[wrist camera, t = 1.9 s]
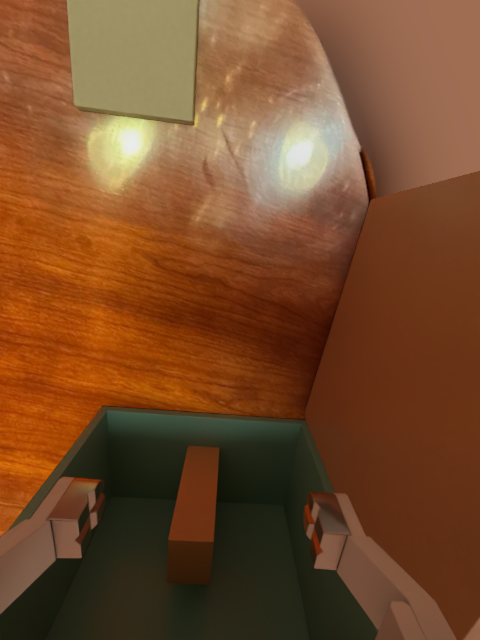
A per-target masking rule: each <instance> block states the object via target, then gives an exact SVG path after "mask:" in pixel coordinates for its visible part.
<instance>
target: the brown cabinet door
mask: <svg viewBox="0 0 480 640" xmlns="http://www.w3.org/2000/svg"><path fill="white" fill-rule="evenodd" d="M304 417H305V419H306V422H307V424H308V427H309V429H310V432H311V434H312V437H313V439H314V442H315V444H316V447H317V449H318V452H319V454H320V457H321V459H322V462H323V464H324V467H325V469H326V472H327V474H328V477H329V479H330V482H331V484H332V487H333V489H334V492H335V493H345V494H347V496H348V497H349V499H350V502H351V504H352V506H353V508H354V511H355V513H356V515H357V517H358V519H359V522H360V524H361V526H362V528H363V531H364V533H365V535H366V536H368V537H371V538H372V539H373V540H374V541H375V542H376V543H377V544H378V545H379V546H380V547H381V548H382V549H383V550H384V551H385V552H386V553H387V554H388V555H389V556H390V557H391V558H392V559H393V560H394V561H395V562H396V563H397V564H398V565H399V566H400V567H401V568H402V569H403V570H404V571H405V572H406V573H407V574H408V575H409V576H410V577H411V578H412V579H414V580H415V581H416V582H417V583H418V584H419V585H420V586H421V587H422V588H423V589H424V590H425V591H426V592H427V593H428V594H429V595H430V596H431V597H432V598H433V599H434V600H435V601H436V603H437V605H438V607H439V608H440V610H441V612H442V614H443V616H444V617H445V619H446V621H447V623H448V625H449V626H450V628H451V630H452V632H453V634H454V635H455V637H456V639H457V640H480V171H478V172H474V173H470V174H467V175H463V176H459V177H455V178H451V179H447V180H444V181H440V182H437V183H432V184H429V185H425V186H421V187H418V188H414V189H410V190H406V191H403V192H398V193H395V194H391V195H387V196H383V197H380V198H376V199H372V200H371V201H370V205H369V208H368V211H367V214H366V217H365V221H364V224H363V227H362V230H361V233H360V237H359V240H358V243H357V246H356V249H355V253H354V256H353V259H352V262H351V265H350V268H349V272H348V275H347V278H346V281H345V284H344V288H343V291H342V294H341V297H340V300H339V304H338V307H337V310H336V313H335V316H334V320H333V323H332V326H331V329H330V332H329V336H328V339H327V342H326V345H325V348H324V352H323V355H322V358H321V361H320V364H319V368H318V371H317V374H316V377H315V380H314V383H313V387H312V390H311V393H310V396H309V399H308V403H307V406H306V409H305V412H304Z"/></svg>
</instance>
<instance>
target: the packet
mask: <svg viewBox="0 0 480 640" xmlns="http://www.w3.org/2000/svg"><path fill="white" fill-rule="evenodd" d="M219 449H220V448H218V447H202V446H188V448H187V453H186V458H185V462H184V467H183V472H182V477H181V481H180V486H179V491H178V495H177V500H176V505H175V510H174V514H173V519H172V524H171V528H170V533H169V538H168V558H167V583H174V584H204V585H209V583H210V574H211V564H212V555H213V545H214V531H215V515H216V498H217V482H218V465H219Z"/></svg>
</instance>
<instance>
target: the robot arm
mask: <svg viewBox="0 0 480 640" xmlns="http://www.w3.org/2000/svg"><path fill="white" fill-rule="evenodd" d="M103 488H104V480H98V479H87V478H74V477H62V478H61V479H59V480H58V481H57V483H56V484H55V485H54V487H53V488H52V490H51V491H50V492H49V494H48V495H47V496H46V498H45V499H44V501H43V502H42V503H41V505H40V506H39V507H38V509H37V510H36V512H35V513H34V514H33V516H32V517H31V518H30V519H25V520H24V521H22V522H21V523H19V524H18V525H16V526H15V527H13V528H12V529H10V530H9V531H8V532H6V533H5V534H3V535H2V536H0V614H1V613H2V612H3V611H4V610H5V609H6V608H7V607H8V606H9V605H10V604H11V603H12V602H13V601H14V600H15V599H16V598H17V597H19V596H20V595H21V594H22V593H23V592H24V591H25V590H26V589H27V588H28V587H29V586H30V585H31V584H32V583H33V582H34V581H35V580H36V579H37V578H38V577H39V576H40V575H41V574H42V573H43V572H44V571H45V570H46V569H47V568H48V567H49V566H50V565H51V564H52V563H53V562H54V561H55V560H56V558H82V557H83V554H84V552H85V550H86V548H87V546H88V544H89V542H90V540H91V538H92V536H91V530H92V529H93V528H94V527H95V526H97V525H98V523H99V521H100V518H101V516H102V513H103V510H104V506H105V495H104V494H103V493H102V490H103ZM307 502H308V504H307V505H306V506H304V511H303V523H304V529H305V534H306V536H307V537H308V538H309V539H310V540H311V541H310V546H309V550H310V554H311V558H312V562H313V566H314V569H327V570H337V573H338V574H339V576H340V577H341V579H342V580H343V581H344V583H345V584H346V586H347V587H348V588H349V590H350V591H351V593H352V594H353V596H354V597H355V598H356V600H357V601H358V603H359V604H360V605H361V607H362V608H363V610H364V611H365V612H366V614H367V615H368V617H369V618H370V619H371V621H372V622H373V624H374V625H375V627H376V628H377V629H378V634H377V636H376V638H375V640H457V639H456V637H455V635H454V634H453V632H452V630H451V628H450V626H449V625H448V623H447V621H446V619H445V617H444V616H443V614H442V612H441V610H440V608H439V607H438V605H437V603H436V601H435V600H434V599H433V598H432V597H431V596H430V595H429V594H428V593H427V592H426V591H425V590H424V589H423V588H422V587H421V586H420V585H419V584H418V583H417V582H416V581H415V580H414V579H412V578H411V577H410V576H409V575H408V574H407V573H406V572H405V571H404V570H403V569H402V568H401V567H400V566H399V565H398V564H397V563H396V562H395V561H394V560H393V559H392V558H391V557H390V556H389V555H388V554H387V553H386V552H385V551H384V550H383V549H382V548H381V547H380V546H379V545H378V544H377V543H376V542H375V541H374V540H373V539H372V538H371V537H368V536H366V535H365V533H364V531H363V528H362V526H361V524H360V522H359V519H358V517H357V515H356V513H355V511H354V508H353V506H352V504H351V502H350V499H349V497H348V496H347V494H345V493H332V492H310V491H309V492H308V494H307Z"/></svg>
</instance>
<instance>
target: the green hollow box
mask: <svg viewBox="0 0 480 640" xmlns="http://www.w3.org/2000/svg"><path fill="white" fill-rule="evenodd" d="M188 446H202V447H218V448H220V449H219V465H218V482H217V498H216V515H215V531H214V545H213V555H212V564H211V574H210V583H209V585H204V584H174V583H167V558H168V538H169V533H170V528H171V524H172V519H173V514H174V510H175V505H176V500H177V495H178V491H179V486H180V481H181V477H182V472H183V467H184V462H185V458H186V453H187V448H188ZM62 477H74V478H87V479H98V480H104V488H103V490H102V493H103V494H104V495H105V506H104V510H103V513H102V516H101V518H100V521H99V523H98V525H97V526H95V527H94V528H93V529H92V530H91V536H92V538H91V540H90V542H89V544H88V546H87V548H86V550H85V552H84V554H83V557H82V558H56V560H55V561H54V562H53V563H52V564H51V565H50V566H49V567H48V568H47V569H46V570H45V571H44V572H43V573H42V574H41V575H40V576H39V577H38V578H37V579H36V580H35V581H34V582H33V583H32V584H31V585H30V586H29V587H28V588H27V589H26V590H25V591H24V592H23V593H22V594H21V595H20V596H19V597H17V598H16V599H15V600H14V601H13V602H12V603H11V604H10V605H9V606H8V607H7V608H6V609H5V610H4V611H3V612H2V613H1V614H0V640H375V638H376V636H377V634H378V629H377V628H376V627H375V625H374V624H373V622H372V621H371V619H370V618H369V617H368V615H367V614H366V612H365V611H364V610H363V608H362V607H361V605H360V604H359V603H358V601H357V600H356V598H355V597H354V596H353V594H352V593H351V591H350V590H349V588H348V587H347V586H346V584H345V583H344V581H343V580H342V579H341V577H340V576H339V574H338V573H337V570H327V569H314V566H313V562H312V558H311V554H310V550H309V546H310V541H311V540H310V539H309V538H308V537H307V536H306V534H305V529H304V523H303V511H304V506H306V505H307V504H308V502H307V494H308V492H309V491H310V492H332V493H335V492H334V489H333V487H332V484H331V482H330V479H329V477H328V474H327V472H326V469H325V467H324V464H323V462H322V459H321V457H320V454H319V452H318V449H317V447H316V444H315V442H314V439H313V437H312V434H311V432H310V429H309V427H308V424H307V422H306V420H297V419H283V418H269V417H254V416H240V415H226V414H212V413H197V412H183V411H169V410H155V409H140V408H126V407H112V406H102V408H101V409H100V411H99V412H98V413H97V414H96V416H95V417H94V418H93V420H92V421H91V422H90V424H89V425H88V426H87V427H86V429H85V430H84V431H83V433H82V434H81V435H80V437H79V438H78V439H77V441H76V442H75V443H74V444H73V446H72V447H71V448H70V450H69V451H68V452H67V454H66V455H65V456H64V458H63V459H62V460H61V461H60V463H59V464H58V465H57V467H56V468H55V469H54V471H53V472H52V473H51V475H50V476H49V477H48V479H47V480H46V481H45V482H44V484H43V485H42V486H41V488H40V489H39V490H38V492H37V493H36V494H35V496H34V497H33V498H32V499H31V501H30V502H29V503H28V505H27V506H26V507H25V509H24V510H23V511H22V513H21V514H20V515H19V516H18V518H17V519H16V520H15V522H14V523H13V524H12V526H11V527H10V528H9V530H10V529H12V528H13V527H15V526H16V525H18V524H19V523H21V522H22V521H24V520H25V519H30V518H31V517H32V516H33V514H34V513H35V512H36V510H37V509H38V507H39V506H40V505H41V503H42V502H43V501H44V499H45V498H46V496H47V495H48V494H49V492H50V491H51V490H52V488H53V487H54V485H55V484H56V483H57V481H58V480H59V479H61V478H62ZM9 530H8V531H9ZM8 531H7V532H8Z"/></svg>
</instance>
